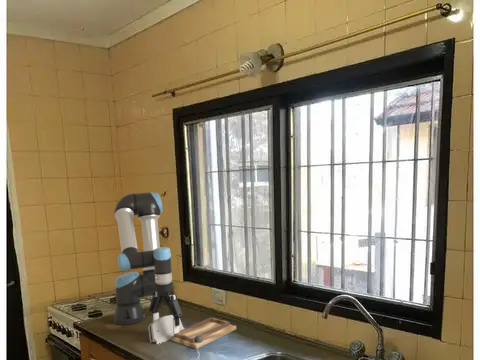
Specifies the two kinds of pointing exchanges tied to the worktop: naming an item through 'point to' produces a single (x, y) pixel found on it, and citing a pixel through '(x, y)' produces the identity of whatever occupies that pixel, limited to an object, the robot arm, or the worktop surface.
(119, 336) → the worktop surface
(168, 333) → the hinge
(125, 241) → the robot arm
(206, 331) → the wooden tray
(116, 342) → the worktop surface
